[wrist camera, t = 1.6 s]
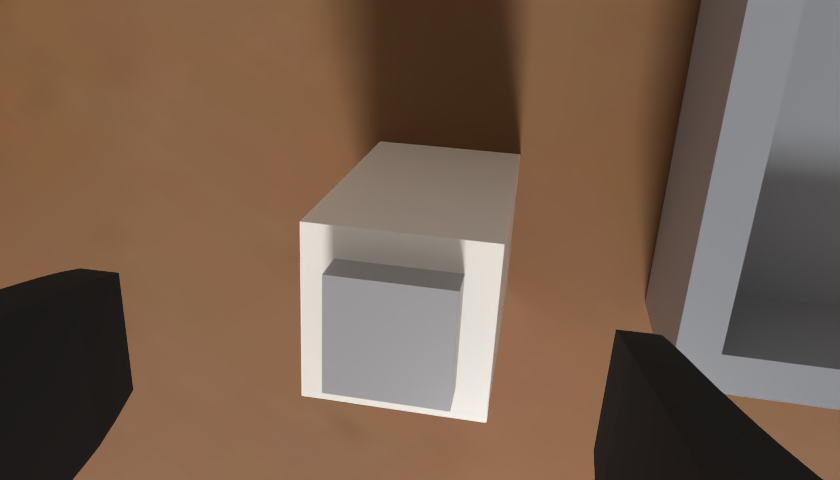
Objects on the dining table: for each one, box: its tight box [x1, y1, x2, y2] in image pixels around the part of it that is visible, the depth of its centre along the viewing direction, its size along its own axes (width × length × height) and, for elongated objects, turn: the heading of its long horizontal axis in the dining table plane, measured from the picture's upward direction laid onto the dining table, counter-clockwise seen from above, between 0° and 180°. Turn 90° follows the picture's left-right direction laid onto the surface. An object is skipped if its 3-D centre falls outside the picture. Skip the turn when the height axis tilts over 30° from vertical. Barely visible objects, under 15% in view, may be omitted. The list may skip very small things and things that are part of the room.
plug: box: [300, 141, 521, 423], centre depth 17 cm, size 4×4×8 cm
